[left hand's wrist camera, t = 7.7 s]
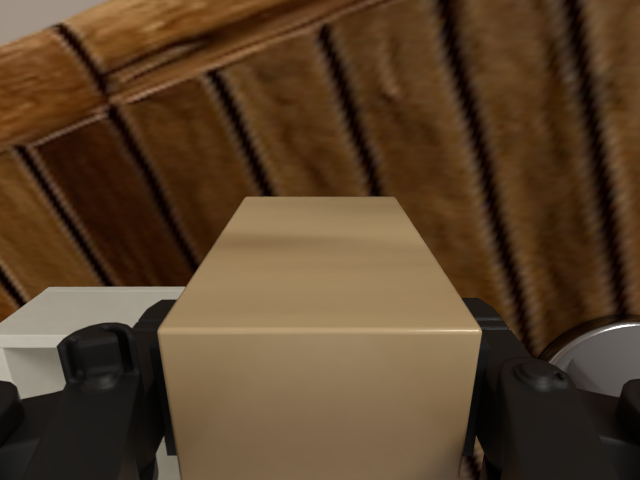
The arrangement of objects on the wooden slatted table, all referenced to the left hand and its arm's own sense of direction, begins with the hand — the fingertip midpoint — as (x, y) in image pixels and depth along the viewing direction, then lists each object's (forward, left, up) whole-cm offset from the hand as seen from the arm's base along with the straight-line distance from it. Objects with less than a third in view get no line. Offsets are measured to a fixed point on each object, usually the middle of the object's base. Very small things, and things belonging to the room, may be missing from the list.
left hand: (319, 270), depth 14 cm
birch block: (0, 0, 0) cm, 0 cm away
